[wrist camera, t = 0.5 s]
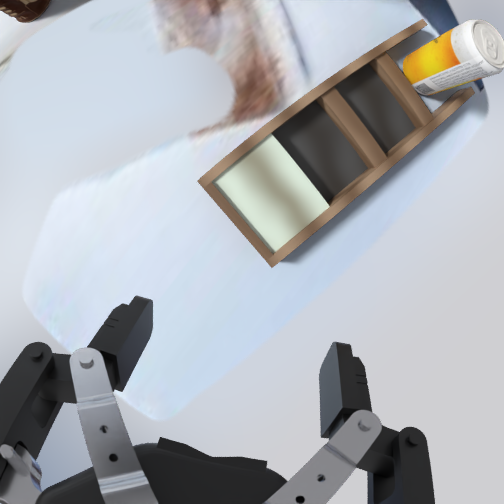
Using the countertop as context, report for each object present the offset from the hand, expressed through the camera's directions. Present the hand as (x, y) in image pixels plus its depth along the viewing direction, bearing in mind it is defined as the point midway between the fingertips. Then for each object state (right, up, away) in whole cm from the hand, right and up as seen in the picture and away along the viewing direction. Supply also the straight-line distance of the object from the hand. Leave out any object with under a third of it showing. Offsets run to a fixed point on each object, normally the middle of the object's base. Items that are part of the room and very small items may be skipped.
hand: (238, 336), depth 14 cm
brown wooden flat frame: (+12, +18, +21) cm, 31 cm away
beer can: (+22, +27, +20) cm, 40 cm away
